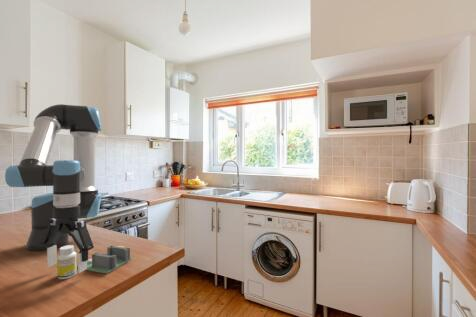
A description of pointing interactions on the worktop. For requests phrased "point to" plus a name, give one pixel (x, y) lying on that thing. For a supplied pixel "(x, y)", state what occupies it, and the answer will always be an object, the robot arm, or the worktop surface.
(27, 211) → the worktop surface
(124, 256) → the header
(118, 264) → the board
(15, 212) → the worktop surface
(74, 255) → the supplement bottle
